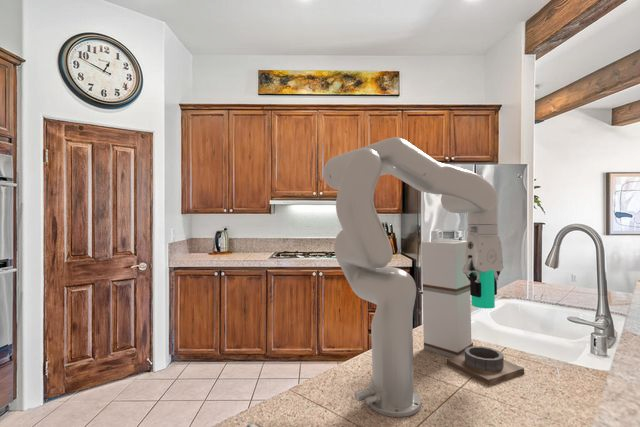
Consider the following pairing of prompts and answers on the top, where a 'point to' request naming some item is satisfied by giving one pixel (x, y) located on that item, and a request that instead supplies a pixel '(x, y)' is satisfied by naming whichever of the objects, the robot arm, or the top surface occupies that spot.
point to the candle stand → (485, 365)
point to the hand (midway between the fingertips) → (483, 294)
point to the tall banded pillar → (445, 298)
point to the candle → (485, 291)
